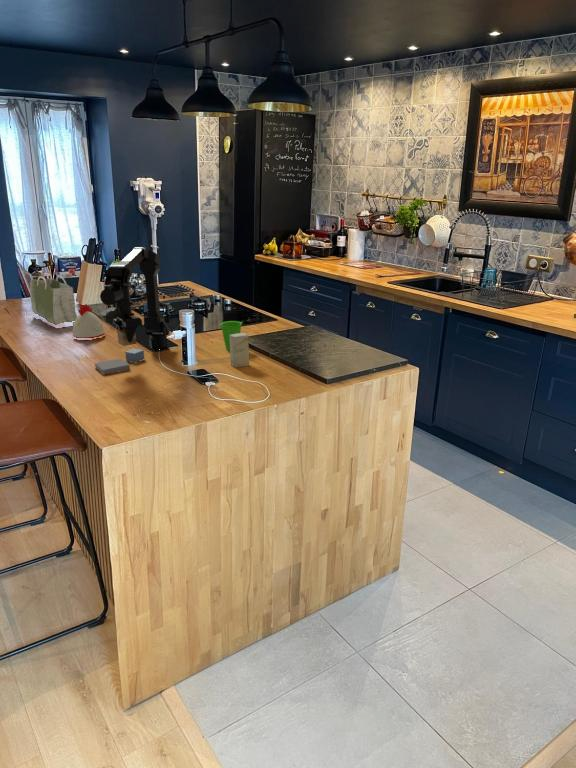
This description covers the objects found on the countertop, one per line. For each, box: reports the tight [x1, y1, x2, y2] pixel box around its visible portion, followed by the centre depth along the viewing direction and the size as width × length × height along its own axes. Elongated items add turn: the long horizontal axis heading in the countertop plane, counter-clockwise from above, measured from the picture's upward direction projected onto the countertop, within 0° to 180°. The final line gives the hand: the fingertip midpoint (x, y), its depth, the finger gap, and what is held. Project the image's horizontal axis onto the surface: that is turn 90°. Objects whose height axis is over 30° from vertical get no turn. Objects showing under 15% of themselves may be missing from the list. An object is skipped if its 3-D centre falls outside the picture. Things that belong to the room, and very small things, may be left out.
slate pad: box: [94, 358, 131, 375], centre depth 222 cm, size 10×10×2 cm
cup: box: [219, 320, 243, 352], centre depth 241 cm, size 9×9×11 cm
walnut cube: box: [116, 329, 137, 347], centre depth 217 cm, size 5×5×5 cm
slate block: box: [124, 348, 145, 363], centre depth 231 cm, size 5×5×4 cm
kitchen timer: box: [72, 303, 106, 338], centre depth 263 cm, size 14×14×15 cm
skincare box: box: [229, 332, 250, 368], centre depth 221 cm, size 6×4×12 cm
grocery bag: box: [29, 274, 78, 325], centre depth 291 cm, size 32×14×23 cm, turn 41°
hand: (127, 340), depth 218 cm, fingers closed on walnut cube, 5 cm apart
